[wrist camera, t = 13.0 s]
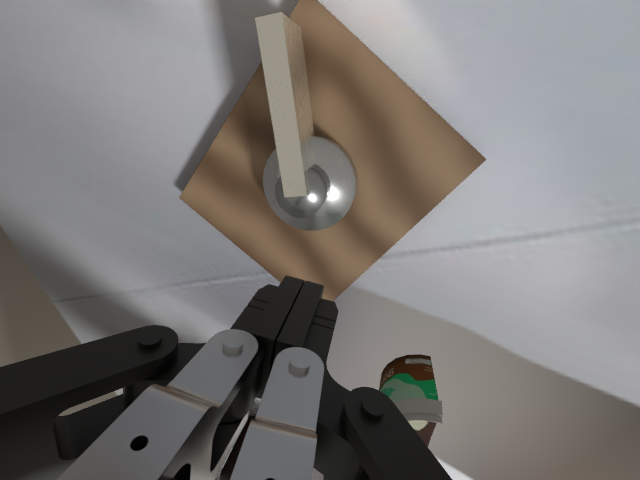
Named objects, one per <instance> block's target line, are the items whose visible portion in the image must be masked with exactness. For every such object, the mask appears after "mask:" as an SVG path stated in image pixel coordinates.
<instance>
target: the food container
mask: <svg viewBox="0 0 640 480" xmlns="http://www.w3.org/2000/svg"><path fill="white" fill-rule="evenodd" d="M379 391H381V392H382V393H384V394H385V395H387V396H388V397H389V398H390V399H391V400H392V401H393V402H394V404H395V405H396V406H397V408H398V409H399V410H400V412H401V413H402V414H403V416H404V417H405V418H406V420H407V421H408V422H409V424H410V425H411V426H412V427H413V429H414V430H415V431H416V433H417V434H418V435H419V437H420V438H421V439H422V441H423V442H424V443H425V445H426V446H427V447H428V445H429V442H430V438H431V436H432V433H433V431H434V428H435V426H436V423H440V424H442V403H441V401H439V400H438V395H437V389H436V384H435V379H434V374H433V368H432V363H431V357H430V356H425V355H406V356H403V357H399V358H396V359H395V360H393V361H392V362H390V363H389V364H387V366H386V367H385V368H384V370H383V372H382V375H381V381H380V388H379Z"/></svg>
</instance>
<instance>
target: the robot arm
mask: <svg viewBox="0 0 640 480" xmlns="http://www.w3.org/2000/svg"><path fill="white" fill-rule="evenodd" d="M324 286H325V285H322V284H318V283H314V282H310V281H305V280H302V279H299V278H295V277H291V276H287V275H286V276H285V277H284V279H283V280H282V282H281V283H280V285H279V287H277V286H274V285H270V284H268V285H266V286H265V287H263V288H261V289H259V290H258V291H257V292H256V294H255V295H254V297H253V299H251V301H250V302H249V304H248V306H246V308H245V309H244V311H243V312H242V313H241V315H240V316H239V317H238V319H237V320H236V322H235V323H234V324H233V326H232V327H231V329H229V330H224V331H221V332H219V333H217V334H215V335H214V336H213V337H212V338H211V339H210V340H209V341H208V342H207V343H202V344H194V343H178V336H177V334H176V333H175V331H173V330H172V329H170V328H168V327H165V326H159V325H152V326H145V327H141V328H138V329H134V330H131V331H127V332H123V333H120V334H116V335H113V336H109V337H106V338H102V339H99V340H95V341H91V342H88V343H84V344H81V345H77V346H74V347H70V348H67V349H63V350H59V351H56V352H52V353H49V354H45V355H42V356H38V357H35V358H31V359H27V360H24V361H20V362H17V363H13V364H10V365H6V366H3V367H0V480H215V478H216V476H217V474H218V472H219V470H220V469H221V467H222V465H223V463H224V461H225V460H226V458H227V456H228V454H229V452H230V450H231V449H232V447H233V445H234V443H235V441H236V439H237V438H238V436H239V434H240V432H241V430H242V429H243V427H244V425H245V423H246V421H247V419H248V414H249V411H250V409H251V407H252V405H253V402H254V400H255V398H256V397H257V398H260V399H261V402H260V405H259V408H258V411H257V414H256V417H255V418H252V420H251V422H250V425H249V427H248V430H247V433H246V436H245V438H244V441H243V444H242V447H241V450H240V453H239V456H238V459H237V461H236V464H235V467H234V470H233V473H232V476H231V479H230V480H312V474H313V467H314V468H315V469H316V470H318V471H319V472H320V473H322V474H323V475H324V480H452V479H451V478H450V476H449V475H448V474H447V472H446V471H445V470H444V468H443V467H442V466H441V464H440V463H439V462H438V460H437V459H436V458H435V456H434V455H433V454H432V452H431V451H430V450H429V449H428V447H427V446H426V445H425V443H424V442H423V441H422V439H421V438H420V437H419V435H418V434H417V433H416V431H415V430H414V429H413V427H412V426H411V425H410V424H409V422H408V421H407V420H406V418H405V417H404V416H403V414H402V413H401V412H400V410H399V409H398V408H397V406H396V405H395V404H394V402H393V401H392V400H391V399H390V398H389V397H388V396H387V395H385V394H384V393H382V392H381V391H379V390H376V389H374V388H369V387H360V388H356V389H353V390H352V391H349V390H347V389H345V388H344V387H342V386H341V385H339V384H338V383H337V382H335V381H334V379H333V378H332V377H331V376H330V374H329V372H328V370H327V366H326V361H327V356H328V352H329V347H330V344H331V339H332V335H333V331H334V327H335V323H336V319H337V315H338V309H337V307H336V304H335V302H333V301H330V300H326V299H322V296H323V291H324ZM121 388H123V394H121V395H118V396H116V397H113V398H111V399H108V400H106V401H103V402H101V403H98V404H96V405H93V406H91V407H88V408H85V409H83V410H80V411H77V412H75V413H72V414H70V415H66V416H58V415H59V414H60V413H62V412H63V411H65V410H66V409H68V408H70V407H73V406H76V405H79V404H81V403H84V402H86V401H89V400H92V399H94V398H97V397H100V396H102V395H105V394H108V393H110V392H113V391H116V390H118V389H121Z"/></svg>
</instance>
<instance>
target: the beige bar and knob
mask: <svg viewBox="0 0 640 480" xmlns="http://www.w3.org/2000/svg"><path fill="white" fill-rule="evenodd" d="M255 22H256V28H257V34H258V40H259V46H260V52H261V58H262V64H263V71H264V77H265V83H266V89H267V95H268V101H269V107H270V113H271V119H272V125H273V131H274V137H275V143H276V149H275V150H274V151H273V153H272V154H271V155H270V157H269V159H268V160H267V163H266V165H265V169H264V173H263V188H264V193H265V196H266V199H267V201H268V203H269V205H270V207H271V208H272V210H273V211H274V212H275V214H276V215H277V216H278V217H279V218H280V219H281V220H283V221H284V222H286V223H287V224H289V225H291V226H293V227H295V228H298V229H302V230H308V231H315V230H322V229H326V228H328V227H331V226H332V225H334V224H336V223H337V222H339V221H340V220H341V219H342V218H343V217H344V216H345V215H346V213H347V212H348V210H349V209H350V207H351V205H352V203H353V200H354V198H355V196H356V192H357V185H358V178H357V172H356V168H355V165H354V163H353V160H352V159H351V157H350V155H349V154H348V153H347V151H346V150H345V149H344V148H343V147H342V146H341V145H339V144H338V143H337V142H335V141H333V140H332V139H330V138H327V137H324V136H320V135H314V128H313V120H312V112H311V104H310V96H309V88H308V80H307V72H306V64H305V56H304V48H303V39H302V31H301V27H300V26H299V25H297V24H296V23H295V22H294V21H292V20H291V19H290V18H289V17H287V16H286V15H285V14H284V13H282V12H279V13H274V14H270V15H265V16H260V17H256V18H255Z"/></svg>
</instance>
